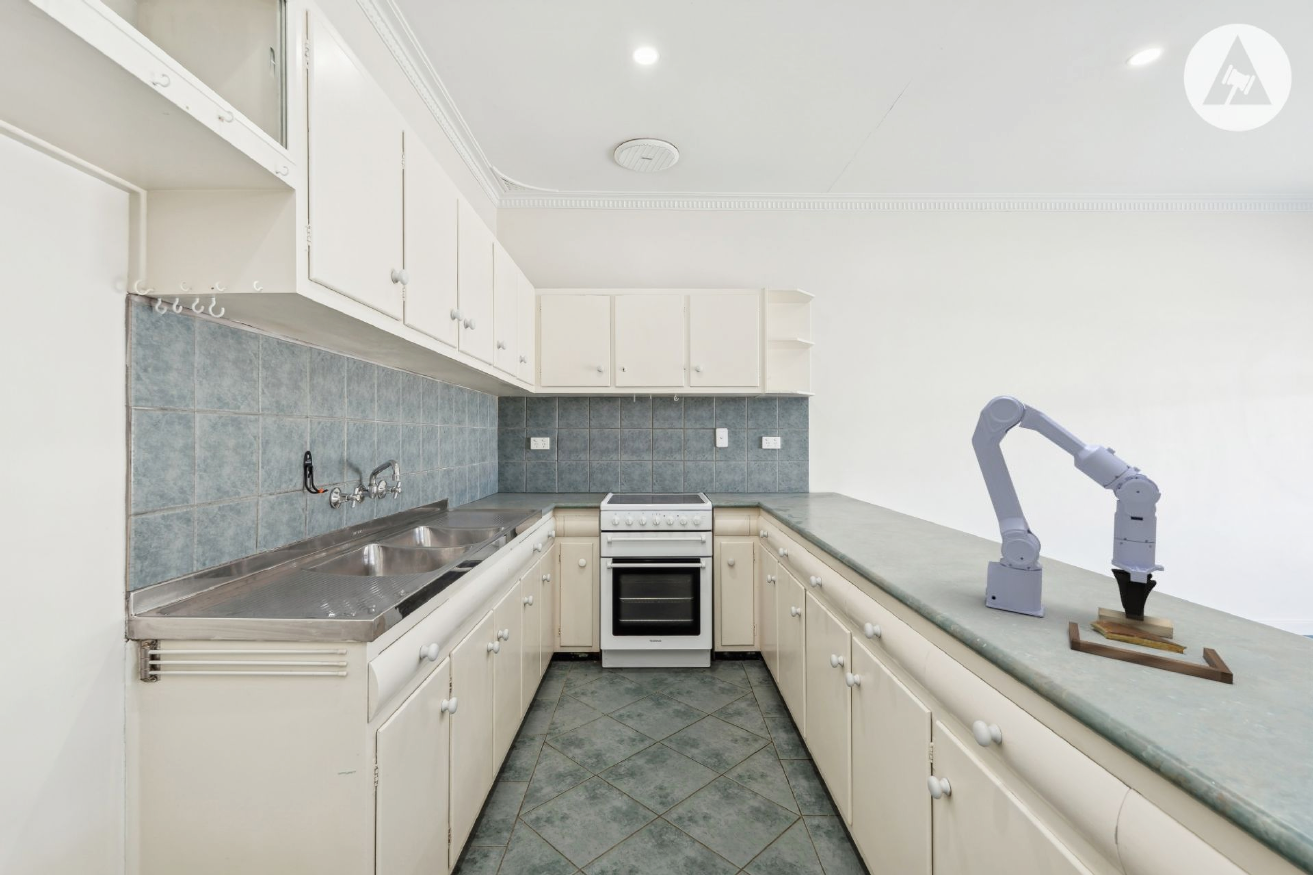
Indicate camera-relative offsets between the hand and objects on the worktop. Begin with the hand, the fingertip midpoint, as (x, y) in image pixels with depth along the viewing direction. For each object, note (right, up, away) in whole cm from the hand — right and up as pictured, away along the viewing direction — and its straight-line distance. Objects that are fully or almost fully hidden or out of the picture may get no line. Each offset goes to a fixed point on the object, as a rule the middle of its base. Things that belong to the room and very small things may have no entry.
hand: (1131, 611), depth 95 cm
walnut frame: (-8, -3, -10) cm, 13 cm away
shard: (-3, -4, -4) cm, 6 cm away
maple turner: (+1, -3, +1) cm, 3 cm away
